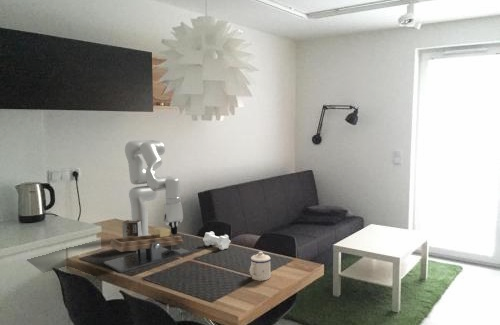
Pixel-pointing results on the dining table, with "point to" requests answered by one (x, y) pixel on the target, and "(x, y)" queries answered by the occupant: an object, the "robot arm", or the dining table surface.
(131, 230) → the coffee box
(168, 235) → the yellow wooden cube
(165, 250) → the stand
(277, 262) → the dining table surface
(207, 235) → the dog bone
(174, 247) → the long wooden tray
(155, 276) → the dining table surface
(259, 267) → the teacup with lid
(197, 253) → the dining table surface
